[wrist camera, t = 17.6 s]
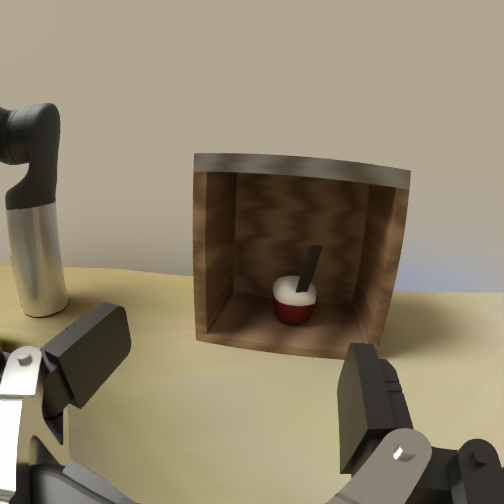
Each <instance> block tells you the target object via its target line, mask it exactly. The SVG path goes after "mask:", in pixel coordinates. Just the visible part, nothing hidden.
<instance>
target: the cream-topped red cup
mask: <svg viewBox="0 0 504 504" xmlns="http://www.w3.org/2000/svg"><path fill="white" fill-rule="evenodd" d="M321 249H322V246H321V245H311V246H309V247H308V251H307V254H306V258H305V261H304V264H303V268H302V271H301V275H300V277H299V276H284V277H281V278H278V279H277V280H276V281H275V282H274V283H273V308H274V313H275V315H276V317H277V318H278V319H279V320H280V321H282V322H284V323H286V324H290V325H299V324H302V323H304V322H307V321H308V320H309V319H310V318H311V316H312V314H313V312H314V310H315V307H316V304H317V297H316V294H317V291H316V288H315V286H314V284H312V283H311V280H312V277H313V274H314V271H315V268H316V265H317V262H318V259H319V255H320V252H321Z"/></svg>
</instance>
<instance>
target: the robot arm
mask: <svg viewBox="0 0 504 504" xmlns="http://www.w3.org/2000/svg"><path fill="white" fill-rule="evenodd" d="M59 139H60V116H59V112H58V109H57V107H56V106H55V105H54V104H51V103H44V104H39V105H35V106H31V107H26V108H22V109H18V110H6V109H3V108H1V107H0V162H3V163H5V164H9V165H19V164H24V163H29V169H28V172H27V174H26V176H25V177H24V178H23V179H22V180H21V181H20V182H19V183H18V184H17V185H15V186H14V187H12V188H11V189H9V190H8V191H7V193H6V196H5V199H6V201H5V202H6V215H7V226H8V233H9V241H10V248H11V261H12V267H13V272H14V277H15V281H16V286H17V290H18V294H19V298H20V302H21V306H23V309H24V312H25V313H26V314H27V315H29V316H33V317H43V316H48V315H52V314H54V313H57V312H59V311H61V310H62V309H63V308H65V307H66V306H67V304H68V301H69V300H68V295H67V290H66V285H65V279H64V273H63V267H62V261H61V254H60V246H59V237H58V227H57V216H56V202H55V201H56V199H55V191H56V183H57V161H58V149H59ZM130 349H131V338H130V333H129V327H128V322H127V316H126V311H125V309H124V308H123V307H122V306H118V305H114V304H110V303H103V304H101V305H100V306H99V307H97V308H96V309H95V310H94V311H92V312H91V313H89V314H86V315H84V316H82V317H80V318H79V319H78V320H76V321H75V322H74V323H73V325H70V326H69V327H67V328H66V330H63V331H62V332H61V333H60V334H58V335H57V336H56V337H54V338H53V339H52V340H51V341H49V342H48V343H47V344H46V345H44V346H43V347H42V348H41V349H38V348H36V347H34V346H24V347H21V348H18V349H17V350H15V351H14V352H12V354H10V353H6V352H2V349H1V347H0V504H139V503H135V502H133V501H132V500H130V499H129V498H127V497H126V496H125V495H123V494H122V493H121V492H120V491H118V490H117V489H116V488H115V487H113V486H112V485H111V484H110V483H108V482H107V481H106V480H105V479H104V478H102V477H101V476H99V475H97V474H95V473H94V472H92V471H90V470H88V469H86V468H85V467H83V466H81V465H80V464H78V463H76V462H75V461H73V460H72V458H71V455H70V449H69V426H68V410H67V408H66V406H67V405H68V404H69V403H70V404H72V405H74V406H76V407H78V408H80V409H81V408H82V407H83V406H84V405H85V404H86V403H87V401H88V400H89V399H90V398H91V397H92V396H93V394H94V393H95V392H96V391H97V390H98V389H99V388H100V386H101V385H102V384H103V383H104V382H105V381H106V379H107V378H108V377H109V376H110V375H111V374H112V373H113V372H114V370H115V369H116V368H117V367H118V366H119V365H120V364H121V362H122V361H123V360H124V359H125V358H126V357H127V356H128V354H129V352H130ZM337 398H338V414H339V437H340V474H351V478H352V479H351V480H350V481H349V482H348V483H347V484H346V485H345V486H344V487H343V489H342V490H341V491H340V492H339V493H337V494H336V495H335V496H334V497H333V498H331V499H330V500H329V501H328V502H327V503H326V504H504V474H503V470H502V467H501V464H500V460H499V457H498V454H497V452H496V450H495V448H494V447H493V446H492V445H491V444H490V443H489V442H487V441H485V440H482V439H472V440H469V441H467V442H466V443H465V444H464V445H463V446H462V447H461V448H460V449H459V450H450V449H442V448H436V447H432V446H431V444H430V442H429V440H428V439H427V438H426V437H425V436H424V435H423V434H422V433H420V432H418V431H416V430H414V428H413V425H412V421H411V418H410V414H409V411H408V407H407V404H406V401H405V398H404V394H403V393H402V388H401V385H400V383H399V379H398V376H397V373H396V370H395V369H394V367H393V366H392V365H391V364H390V363H389V362H388V361H387V360H386V359H378V357H377V353H376V350H375V347H374V345H373V344H366V343H350V345H349V348H348V351H347V355H346V358H345V361H344V365H343V368H342V371H341V374H340V378H339V382H338V389H337Z"/></svg>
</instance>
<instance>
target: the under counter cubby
mask: <svg viewBox="0 0 504 504" xmlns="http://www.w3.org/2000/svg"><path fill="white" fill-rule="evenodd" d="M410 174H411V171H409V170H404V169H397V168H392V167H386V166H379V165H373V164H365V163H358V162H350V161H341V160H332V159H323V158H312V157H299V156H284V155H267V154H266V155H265V154H236V153H235V154H234V153H231V154H230V153H196V154H194V178H193V277H194V306H195V326H196V340H200V341H205V342H210V343H216V344H221V345H227V346H233V347H239V348H245V349H252V350H259V351H266V352H274V353H282V354H290V355H299V356H309V357H320V358H333V359H345V358H346V355H347V351H348V348H349V345H350V343H366V344H373V345H374V347H375V350H376V351H377V348H378V345H379V342H380V338H381V335H382V332H383V328H384V324H385V321H386V317H387V313H388V309H389V306H390V302H391V297H392V293H393V289H394V284H395V279H396V275H397V270H398V265H399V260H400V254H401V249H402V243H403V236H404V230H405V222H406V215H407V207H408V197H409V187H410ZM311 245H321V246H322V249H321V252H320V255H319V259H318V262H317V265H316V268H315V271H314V274H313V277H312V280H311V283H312V284H314V286H315V288H316V291H317V294H316V297H317V304H316V307H315V310H314V312H313V314H312V316H311V318H310V319H309V320H308V321H307V322H304V323H302V324H299V325H290V324H286V323H284V322H282V321H280V320H279V319H278V318H277V317H276V315H275V313H274V308H273V283H274V282H275V281H276V280H277V279H278V278H281V277H284V276H299V277H300V275H301V271H302V268H303V264H304V261H305V258H306V254H307V251H308V247H309V246H311Z"/></svg>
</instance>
